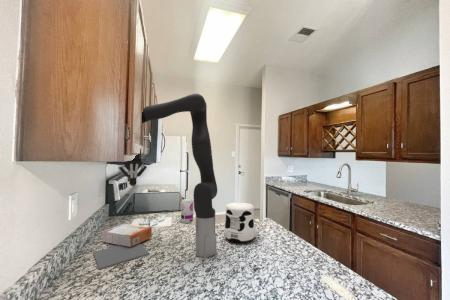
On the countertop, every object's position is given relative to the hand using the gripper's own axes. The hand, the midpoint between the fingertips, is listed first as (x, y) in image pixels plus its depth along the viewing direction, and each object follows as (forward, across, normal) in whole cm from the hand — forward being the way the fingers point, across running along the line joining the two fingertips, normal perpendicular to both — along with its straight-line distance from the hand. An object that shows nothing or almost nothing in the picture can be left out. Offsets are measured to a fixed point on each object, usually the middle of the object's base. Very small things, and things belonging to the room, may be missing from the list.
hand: (132, 185), depth 99 cm
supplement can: (+31, +41, +21) cm, 56 cm away
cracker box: (+27, +6, +4) cm, 28 cm away
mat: (+31, -5, 0) cm, 32 cm away
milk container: (+32, +50, -22) cm, 63 cm away
